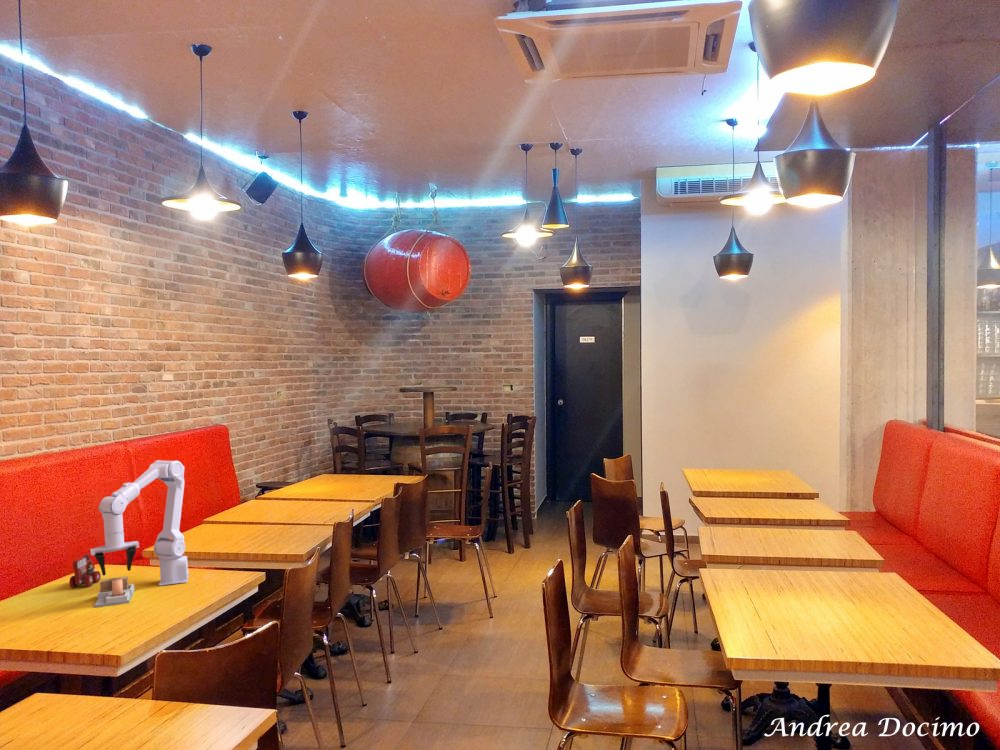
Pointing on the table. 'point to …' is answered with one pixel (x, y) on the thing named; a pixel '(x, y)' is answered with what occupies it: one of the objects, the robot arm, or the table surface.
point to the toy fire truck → (84, 572)
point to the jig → (108, 598)
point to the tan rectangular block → (107, 584)
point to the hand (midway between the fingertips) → (116, 572)
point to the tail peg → (117, 587)
